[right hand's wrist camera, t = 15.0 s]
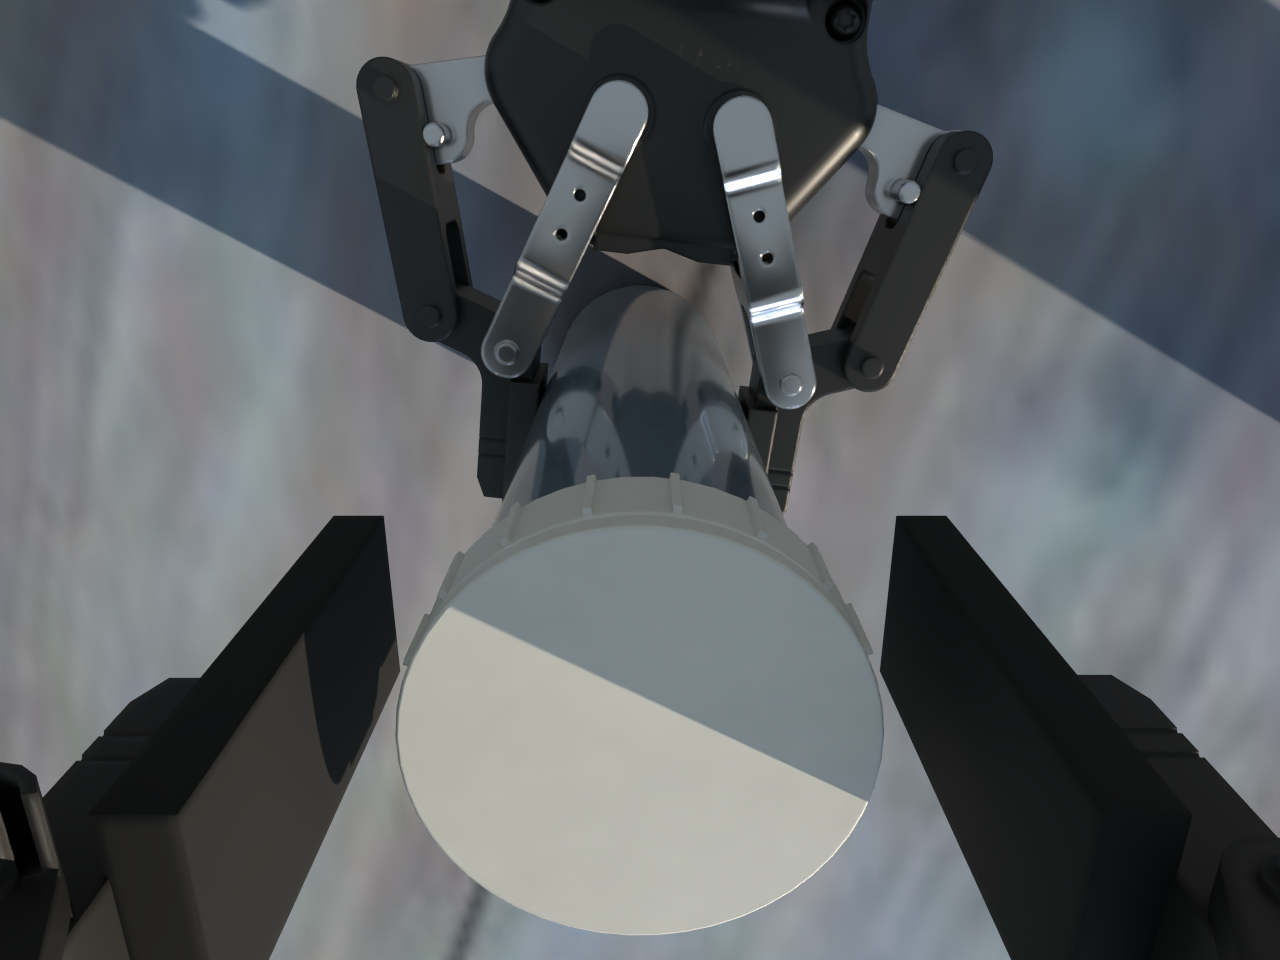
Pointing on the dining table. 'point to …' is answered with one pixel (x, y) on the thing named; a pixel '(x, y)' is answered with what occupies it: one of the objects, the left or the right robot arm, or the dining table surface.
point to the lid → (639, 709)
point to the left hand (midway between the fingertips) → (629, 520)
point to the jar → (640, 405)
